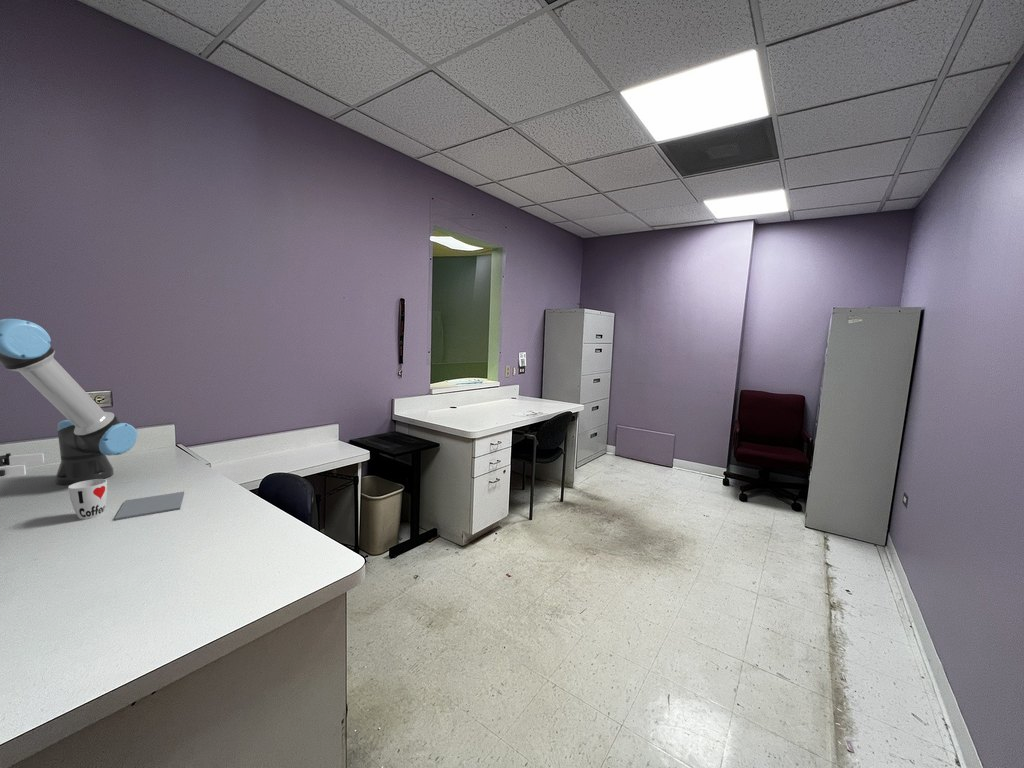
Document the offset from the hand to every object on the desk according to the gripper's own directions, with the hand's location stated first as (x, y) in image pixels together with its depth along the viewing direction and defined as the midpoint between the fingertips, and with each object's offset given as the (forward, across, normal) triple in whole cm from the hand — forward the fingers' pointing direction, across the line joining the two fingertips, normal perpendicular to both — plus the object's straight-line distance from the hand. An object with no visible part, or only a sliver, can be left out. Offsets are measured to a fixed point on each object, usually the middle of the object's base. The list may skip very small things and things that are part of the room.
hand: (34, 463), depth 116 cm
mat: (+24, 0, -18) cm, 30 cm away
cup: (+10, 0, -18) cm, 21 cm away
